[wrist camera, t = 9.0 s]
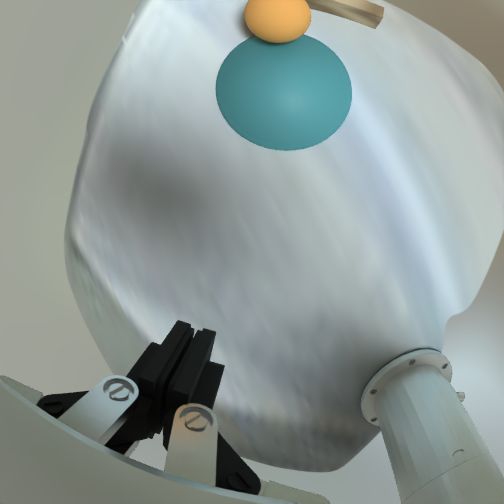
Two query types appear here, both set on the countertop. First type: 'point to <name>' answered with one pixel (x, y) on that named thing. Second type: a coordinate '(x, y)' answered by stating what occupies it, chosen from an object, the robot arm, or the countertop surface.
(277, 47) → the disc
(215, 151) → the countertop surface
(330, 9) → the stopper strip
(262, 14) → the ball
